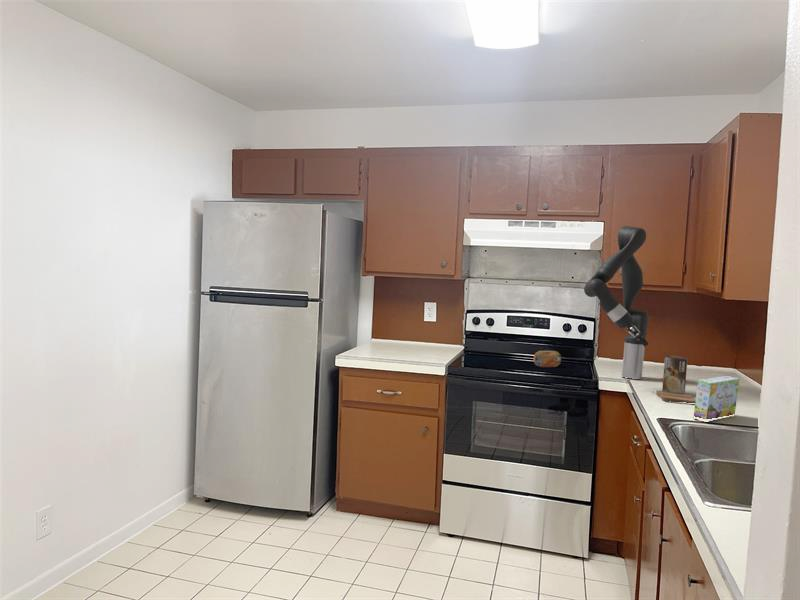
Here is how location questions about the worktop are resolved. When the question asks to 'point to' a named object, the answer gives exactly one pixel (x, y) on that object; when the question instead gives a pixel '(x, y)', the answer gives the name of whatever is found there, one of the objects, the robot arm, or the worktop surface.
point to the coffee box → (674, 374)
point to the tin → (547, 358)
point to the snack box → (716, 397)
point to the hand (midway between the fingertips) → (644, 343)
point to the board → (675, 397)
